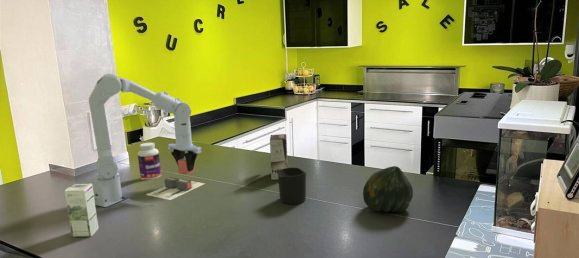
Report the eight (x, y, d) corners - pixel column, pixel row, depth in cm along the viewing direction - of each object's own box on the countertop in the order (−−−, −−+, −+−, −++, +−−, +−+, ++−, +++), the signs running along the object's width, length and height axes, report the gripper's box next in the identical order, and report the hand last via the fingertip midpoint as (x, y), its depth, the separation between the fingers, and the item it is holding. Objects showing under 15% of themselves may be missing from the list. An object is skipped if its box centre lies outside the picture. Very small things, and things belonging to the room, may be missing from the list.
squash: (351, 186, 141) (368, 161, 130) (390, 181, 147) (410, 156, 135) (367, 225, 134) (387, 202, 122) (407, 218, 139) (430, 196, 127)
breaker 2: (187, 191, 154) (186, 183, 153) (177, 189, 156) (176, 181, 155) (192, 188, 156) (192, 180, 156) (183, 186, 159) (182, 178, 158)
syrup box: (99, 228, 129) (92, 182, 126) (91, 237, 123) (84, 189, 120) (80, 229, 129) (73, 183, 126) (71, 238, 123) (63, 190, 120)
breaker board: (170, 203, 147) (170, 199, 146) (146, 197, 153) (145, 194, 152) (205, 186, 162) (205, 183, 162) (181, 182, 168) (181, 179, 168)
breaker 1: (173, 188, 157) (172, 180, 156) (165, 187, 159) (164, 179, 158) (179, 186, 160) (178, 178, 159) (171, 184, 162) (170, 176, 161)
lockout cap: (186, 174, 159) (185, 160, 157) (178, 173, 160) (177, 159, 159) (194, 171, 162) (193, 158, 161) (186, 170, 164) (185, 156, 163)
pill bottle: (147, 183, 168) (142, 148, 164) (137, 179, 173) (132, 145, 170) (165, 178, 173) (161, 143, 170) (155, 174, 179) (151, 140, 176)
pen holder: (309, 195, 149) (308, 168, 147) (303, 206, 140) (302, 177, 138) (283, 194, 152) (282, 166, 149) (275, 204, 143) (274, 175, 141)
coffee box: (287, 179, 167) (286, 139, 163) (271, 180, 167) (269, 139, 163) (288, 172, 176) (286, 133, 172) (272, 172, 176) (270, 134, 172)
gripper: (205, 133, 158) (208, 169, 161) (176, 130, 165) (179, 164, 168) (192, 137, 152) (195, 174, 155) (162, 134, 159) (166, 169, 162)
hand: (186, 169), depth 161 cm, fingers closed on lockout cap, 4 cm apart
